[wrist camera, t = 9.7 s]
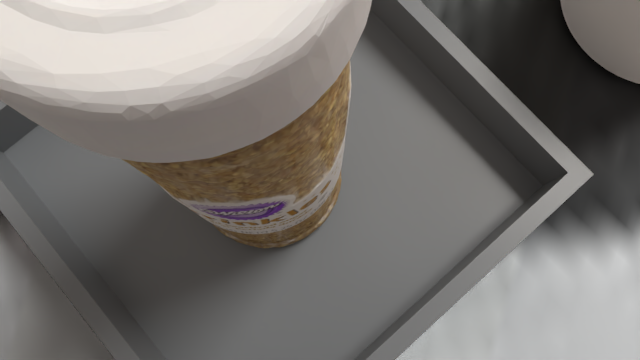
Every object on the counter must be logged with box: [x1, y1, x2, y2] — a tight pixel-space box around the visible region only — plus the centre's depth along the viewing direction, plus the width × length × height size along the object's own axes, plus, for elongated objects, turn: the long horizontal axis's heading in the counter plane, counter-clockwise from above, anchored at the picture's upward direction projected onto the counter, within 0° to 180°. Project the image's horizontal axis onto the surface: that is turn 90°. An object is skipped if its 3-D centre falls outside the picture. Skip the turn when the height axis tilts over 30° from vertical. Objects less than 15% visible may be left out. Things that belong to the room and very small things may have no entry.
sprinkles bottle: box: [0, 0, 372, 248], centre depth 11 cm, size 5×5×14 cm
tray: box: [0, 0, 594, 360], centre depth 17 cm, size 13×13×2 cm
